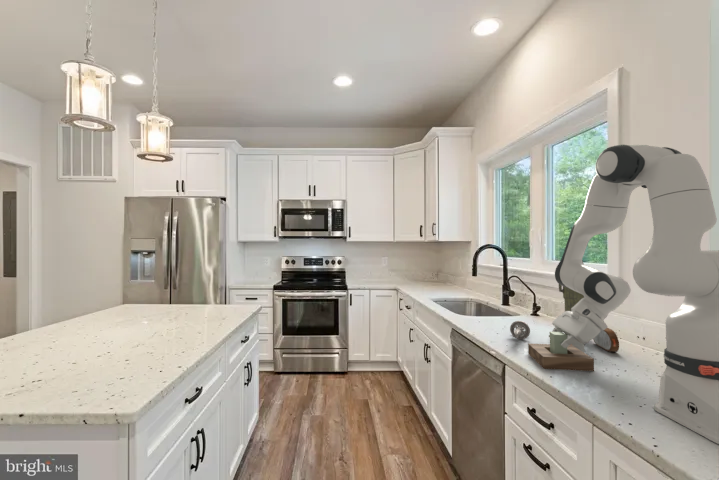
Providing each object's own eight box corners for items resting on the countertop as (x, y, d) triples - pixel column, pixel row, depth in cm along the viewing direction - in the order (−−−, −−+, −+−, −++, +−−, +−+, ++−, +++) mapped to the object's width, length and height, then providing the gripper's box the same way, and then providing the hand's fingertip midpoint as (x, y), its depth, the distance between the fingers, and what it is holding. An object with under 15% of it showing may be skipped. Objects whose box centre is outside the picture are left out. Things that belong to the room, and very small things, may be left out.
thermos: (596, 341, 136) (593, 258, 137) (564, 340, 139) (562, 258, 140) (587, 336, 145) (584, 257, 145) (557, 334, 147) (555, 258, 148)
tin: (620, 354, 120) (619, 332, 120) (610, 354, 120) (610, 331, 120) (599, 343, 134) (598, 322, 134) (590, 342, 135) (589, 322, 135)
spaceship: (501, 328, 130) (521, 322, 126) (511, 320, 159) (528, 315, 156) (509, 348, 127) (530, 342, 124) (518, 336, 157) (535, 331, 153)
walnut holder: (594, 371, 104) (593, 358, 104) (543, 368, 107) (543, 356, 107) (572, 355, 119) (571, 345, 119) (528, 354, 121) (528, 343, 122)
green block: (567, 361, 110) (566, 335, 111) (554, 360, 111) (554, 334, 111) (562, 357, 114) (561, 332, 115) (550, 357, 115) (549, 331, 115)
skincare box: (567, 347, 129) (566, 317, 129) (579, 348, 128) (578, 317, 128) (572, 352, 123) (571, 320, 123) (585, 353, 122) (584, 321, 122)
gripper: (565, 303, 122) (538, 328, 124) (594, 314, 102) (561, 343, 104) (578, 315, 121) (551, 340, 123) (610, 328, 101) (577, 358, 103)
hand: (556, 342), depth 113 cm, fingers open, 8 cm apart
